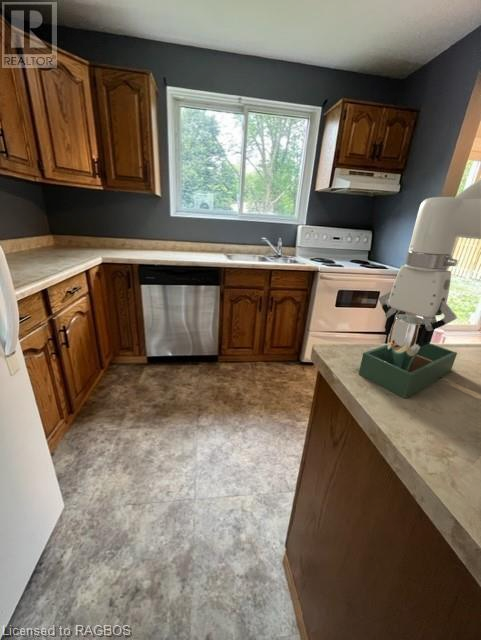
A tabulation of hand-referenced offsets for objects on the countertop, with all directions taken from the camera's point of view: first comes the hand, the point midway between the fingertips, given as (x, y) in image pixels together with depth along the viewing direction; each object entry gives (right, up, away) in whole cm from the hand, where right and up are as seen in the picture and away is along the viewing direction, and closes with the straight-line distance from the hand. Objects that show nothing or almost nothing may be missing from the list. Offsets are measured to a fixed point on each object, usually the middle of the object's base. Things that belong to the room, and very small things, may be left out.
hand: (405, 338), depth 63 cm
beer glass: (0, -10, +4) cm, 10 cm away
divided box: (+4, -10, +7) cm, 12 cm away
